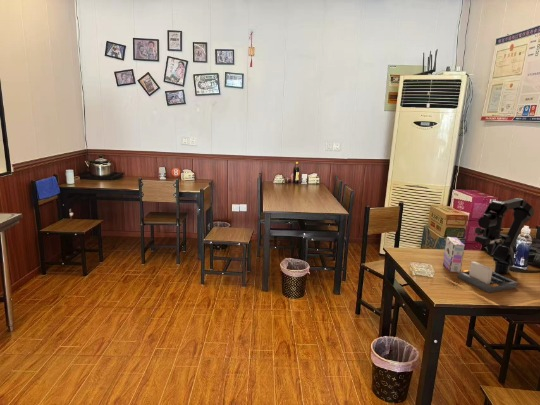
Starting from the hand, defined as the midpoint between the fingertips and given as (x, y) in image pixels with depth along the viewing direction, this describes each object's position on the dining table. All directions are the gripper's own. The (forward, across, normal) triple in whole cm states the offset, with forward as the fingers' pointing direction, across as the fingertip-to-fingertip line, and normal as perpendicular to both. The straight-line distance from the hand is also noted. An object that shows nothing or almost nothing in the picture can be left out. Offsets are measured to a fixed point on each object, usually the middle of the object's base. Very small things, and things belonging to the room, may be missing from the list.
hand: (489, 254), depth 187 cm
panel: (+12, +12, +6) cm, 18 cm away
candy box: (+13, +8, -15) cm, 22 cm away
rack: (+13, +7, +6) cm, 16 cm away
